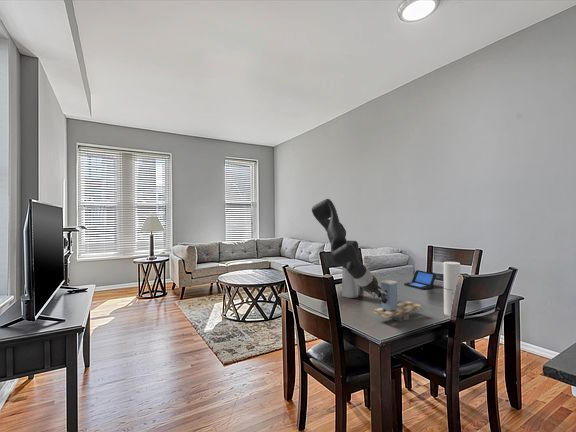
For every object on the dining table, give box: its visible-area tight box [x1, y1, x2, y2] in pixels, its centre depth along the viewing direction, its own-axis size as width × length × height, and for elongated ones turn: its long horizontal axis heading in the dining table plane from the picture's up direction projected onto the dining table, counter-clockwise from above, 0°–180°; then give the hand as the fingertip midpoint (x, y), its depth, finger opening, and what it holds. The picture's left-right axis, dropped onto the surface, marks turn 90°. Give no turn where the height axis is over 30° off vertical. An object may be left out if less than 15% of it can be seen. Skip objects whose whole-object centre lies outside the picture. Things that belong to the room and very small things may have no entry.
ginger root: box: [372, 300, 422, 323], centre depth 144 cm, size 24×8×5 cm, turn 120°
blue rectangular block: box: [380, 279, 398, 311], centre depth 141 cm, size 5×5×14 cm
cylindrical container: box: [443, 261, 461, 317], centre depth 148 cm, size 7×7×25 cm
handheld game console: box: [403, 270, 437, 291], centre depth 202 cm, size 16×13×9 cm
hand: (385, 301), depth 139 cm, fingers closed
